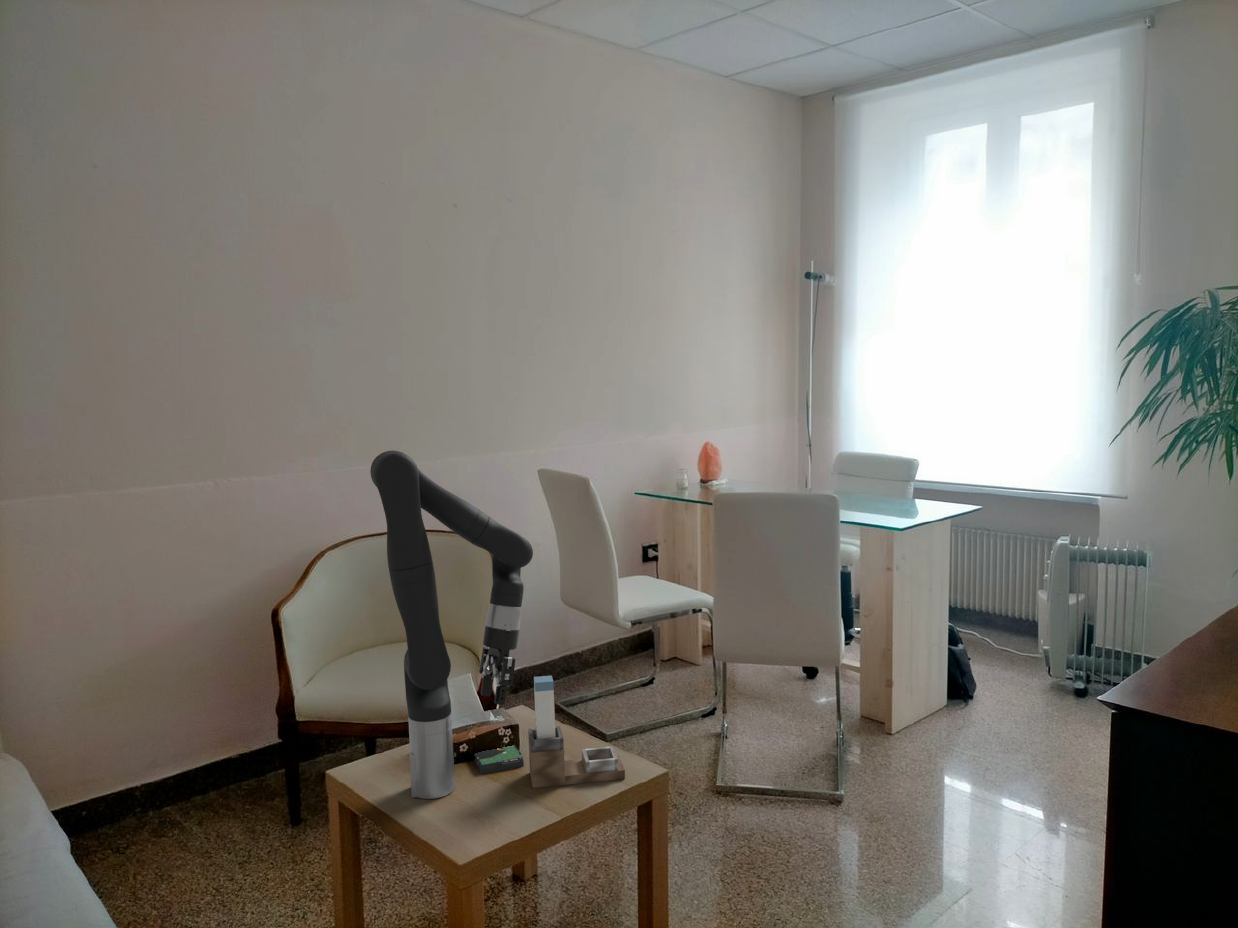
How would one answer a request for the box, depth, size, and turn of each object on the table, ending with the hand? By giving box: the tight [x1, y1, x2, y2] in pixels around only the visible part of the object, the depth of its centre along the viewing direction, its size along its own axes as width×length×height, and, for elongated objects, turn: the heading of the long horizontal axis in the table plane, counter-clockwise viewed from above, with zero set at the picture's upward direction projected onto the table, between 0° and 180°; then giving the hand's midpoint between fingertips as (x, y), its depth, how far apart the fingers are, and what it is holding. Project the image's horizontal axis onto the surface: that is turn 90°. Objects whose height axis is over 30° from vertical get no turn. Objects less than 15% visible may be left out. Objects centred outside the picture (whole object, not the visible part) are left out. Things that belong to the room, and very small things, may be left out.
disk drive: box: [474, 743, 525, 775], centre depth 221 cm, size 10×3×15 cm
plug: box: [533, 675, 556, 739], centre depth 208 cm, size 4×4×15 cm
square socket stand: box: [527, 725, 626, 789], centre depth 210 cm, size 21×8×10 cm, turn 100°
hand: (492, 699), depth 205 cm, fingers open, 8 cm apart
